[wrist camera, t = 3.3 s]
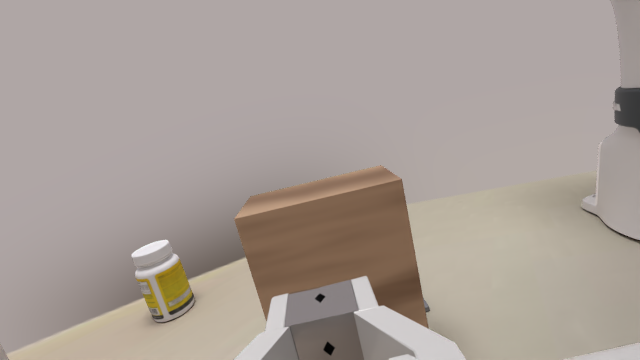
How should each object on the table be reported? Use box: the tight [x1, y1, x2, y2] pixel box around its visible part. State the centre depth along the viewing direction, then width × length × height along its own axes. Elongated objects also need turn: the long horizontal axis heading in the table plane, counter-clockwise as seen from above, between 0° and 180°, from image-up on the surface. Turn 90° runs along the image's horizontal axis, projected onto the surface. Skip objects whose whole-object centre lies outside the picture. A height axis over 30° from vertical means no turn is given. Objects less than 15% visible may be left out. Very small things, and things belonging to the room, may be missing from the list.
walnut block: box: [235, 165, 428, 328], centre depth 21 cm, size 5×10×14 cm, turn 93°
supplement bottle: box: [132, 240, 194, 322], centre depth 35 cm, size 5×5×8 cm
